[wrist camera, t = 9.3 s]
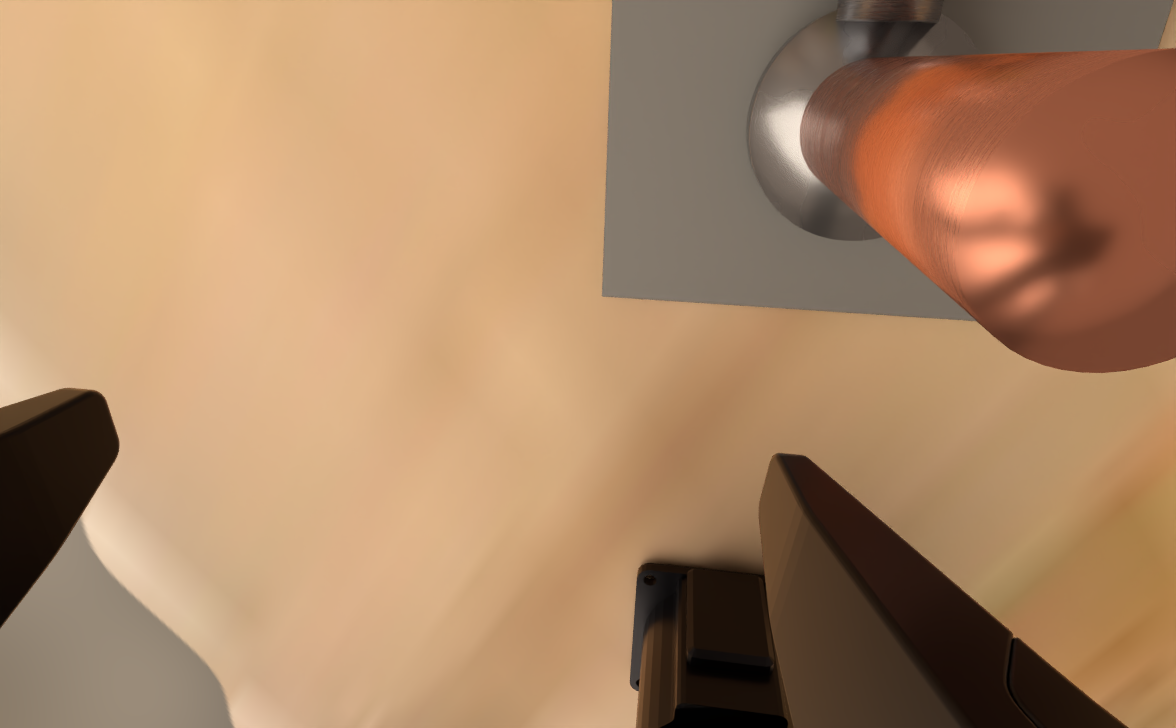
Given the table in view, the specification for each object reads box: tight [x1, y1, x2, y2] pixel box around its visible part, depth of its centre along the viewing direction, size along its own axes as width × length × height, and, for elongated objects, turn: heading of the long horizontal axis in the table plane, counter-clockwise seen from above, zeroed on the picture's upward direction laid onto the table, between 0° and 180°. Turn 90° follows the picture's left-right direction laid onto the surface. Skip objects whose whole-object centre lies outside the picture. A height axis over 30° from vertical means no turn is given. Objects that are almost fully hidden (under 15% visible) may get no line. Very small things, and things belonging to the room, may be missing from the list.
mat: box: [602, 0, 1174, 321], centre depth 19 cm, size 12×14×1 cm
